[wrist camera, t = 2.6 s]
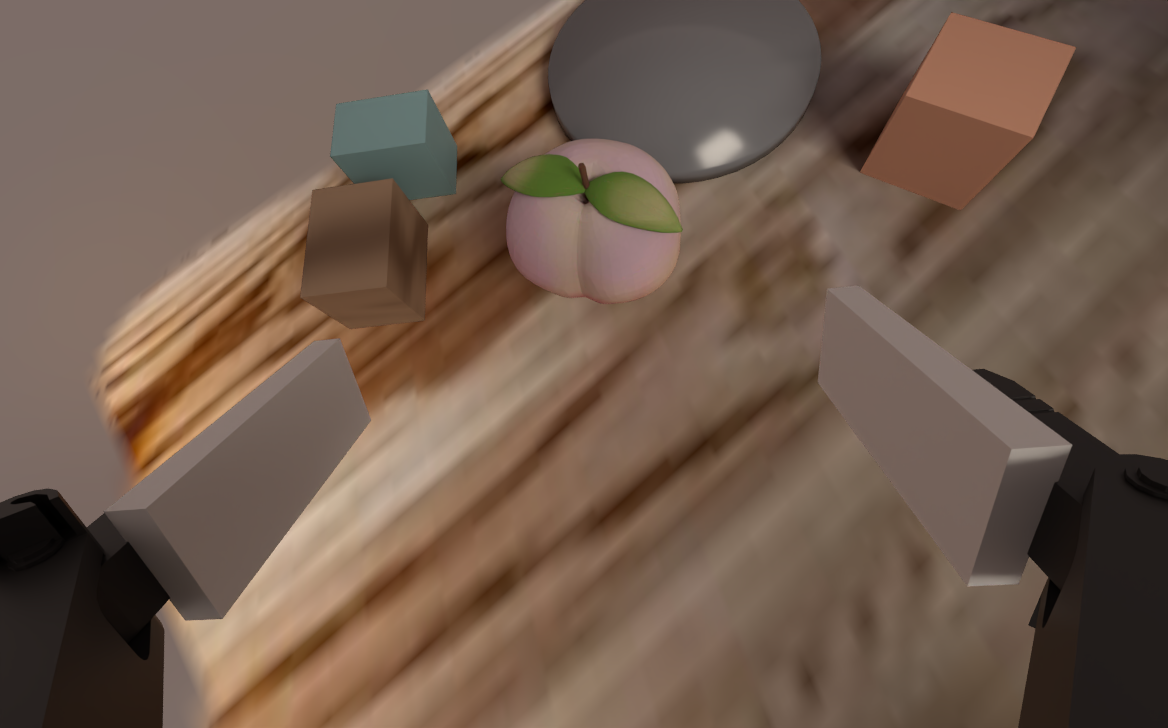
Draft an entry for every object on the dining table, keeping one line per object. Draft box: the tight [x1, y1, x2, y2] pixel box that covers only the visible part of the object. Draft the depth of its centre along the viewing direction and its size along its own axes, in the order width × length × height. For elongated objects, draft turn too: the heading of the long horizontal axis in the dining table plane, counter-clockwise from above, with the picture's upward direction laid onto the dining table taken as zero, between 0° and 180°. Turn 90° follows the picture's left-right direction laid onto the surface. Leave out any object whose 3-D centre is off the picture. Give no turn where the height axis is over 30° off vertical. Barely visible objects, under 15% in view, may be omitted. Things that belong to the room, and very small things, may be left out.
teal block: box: [330, 90, 457, 200], centre depth 33 cm, size 6×4×5 cm, turn 93°
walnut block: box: [300, 178, 428, 329], centre depth 31 cm, size 7×5×5 cm
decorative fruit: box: [501, 139, 683, 304], centre depth 27 cm, size 9×8×10 cm
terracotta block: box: [860, 12, 1076, 210], centre depth 28 cm, size 6×6×6 cm
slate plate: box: [548, 0, 821, 183], centre depth 34 cm, size 18×18×1 cm
